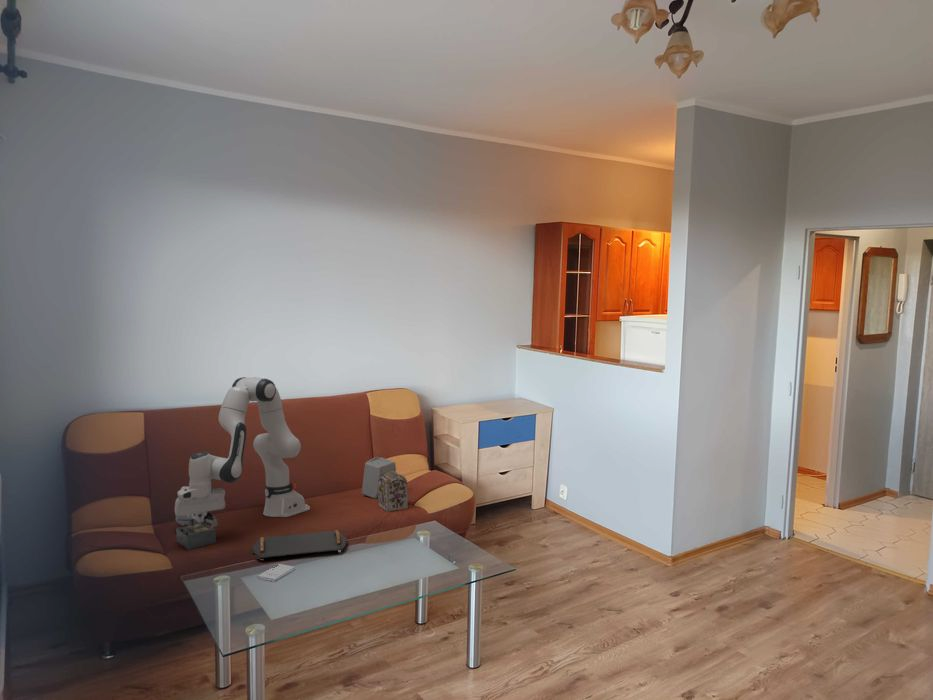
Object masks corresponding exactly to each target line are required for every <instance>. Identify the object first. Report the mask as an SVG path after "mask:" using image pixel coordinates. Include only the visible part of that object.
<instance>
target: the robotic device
mask: <svg viewBox="0 0 933 700" xmlns="http://www.w3.org/2000/svg"><path fill="white" fill-rule="evenodd" d="M186 487H188V486H186V485H185V486H182V487H180V489H179V491H180V490H182V489H184V488H186ZM199 514H202V512H201V513H199ZM206 516H210V517H213V518H214V519H216V516H214V515H213V514H211V513H210V511H207V512H206ZM174 520H175V521H176V523H178V524H180V525H181V526H182V527H183V526H188V525H189V519H187V515H181V516H177V515H176V514H175V519H174ZM197 523H198V521H197V520H196V519H195V524H197Z"/></svg>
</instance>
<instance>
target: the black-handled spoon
mask: <svg viewBox="0 0 933 700" xmlns="http://www.w3.org/2000/svg"><path fill="white" fill-rule="evenodd" d="M201 516H202V514H199V515H198V517H199V518H201ZM187 519H189V520H191V519H196V520H197V517H196V516H195V513H194V514H188V515H187ZM203 522H205V523H207V524H211V527H213V528H215V527H218V519H217V518H215V519H214V518H213V517H210V516H206V515H205V517H204V518H203Z"/></svg>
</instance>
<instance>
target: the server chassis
mask: <svg viewBox="0 0 933 700" xmlns="http://www.w3.org/2000/svg"><path fill="white" fill-rule="evenodd" d="M216 530H217V529H216V528H215V527H212V525H209V523H207V522H201V523H197V524H195V519H191V520H189V525H188V526H183V525H182V526H178V527H176V528H175V531H176V532H175V533H176V534H175V535H176V542H177V544H179V545H181V546H182V547H183V546H184V547H183V548H185V549H186V550H187V551H189V550H193V549H197V548H201V547H205V546H204V545H206V546H210V545H213V543H214V544H216V543H217V533H216V532H217V531H216ZM209 544H210V545H209ZM200 546H201V547H200Z"/></svg>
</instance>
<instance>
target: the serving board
mask: <svg viewBox="0 0 933 700" xmlns="http://www.w3.org/2000/svg"><path fill="white" fill-rule="evenodd" d="M343 541H345V542H343ZM347 541H348V539H347V537H346V536H345V535H344V534H343V533H342V532H340V531H339V530H338V529H335V530H328V531H327V530H326V531H317V532H309V533H308V532H307V533H306V532H305V533H296V534H294V533H293V534H283V535H276V536H273V535H272V536H261V537H260V538H259V539H258V540H257V541H255V542H254V544H253V545H252V553H253V554H254V555H255V556H256V557H258V558H259V559H258V560H259V561H260V559H264V558H265V559H267V558H274V557H275V556H276V557H283V556H284V557H285V556H294V555H295V556H296V555H302V554H303V555H305V554H314V553H324V552H325V553H326V552H333V551H337V550H342V551H343V550H344V549H345V548H346V546H347V544H348V542H347ZM302 550H303V551H302ZM297 551H301V552H297Z"/></svg>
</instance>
